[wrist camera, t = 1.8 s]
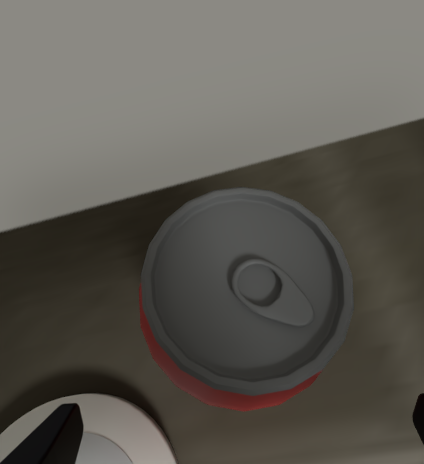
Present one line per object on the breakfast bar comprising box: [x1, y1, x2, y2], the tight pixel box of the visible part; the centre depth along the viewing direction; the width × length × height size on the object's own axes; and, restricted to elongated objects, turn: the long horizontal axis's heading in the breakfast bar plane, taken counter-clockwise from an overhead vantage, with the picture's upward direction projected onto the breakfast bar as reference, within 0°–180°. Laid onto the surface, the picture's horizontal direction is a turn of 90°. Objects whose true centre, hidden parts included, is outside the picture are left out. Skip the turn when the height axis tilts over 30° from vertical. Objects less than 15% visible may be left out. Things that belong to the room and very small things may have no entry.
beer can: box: [139, 187, 354, 411], centre depth 13 cm, size 7×7×12 cm
